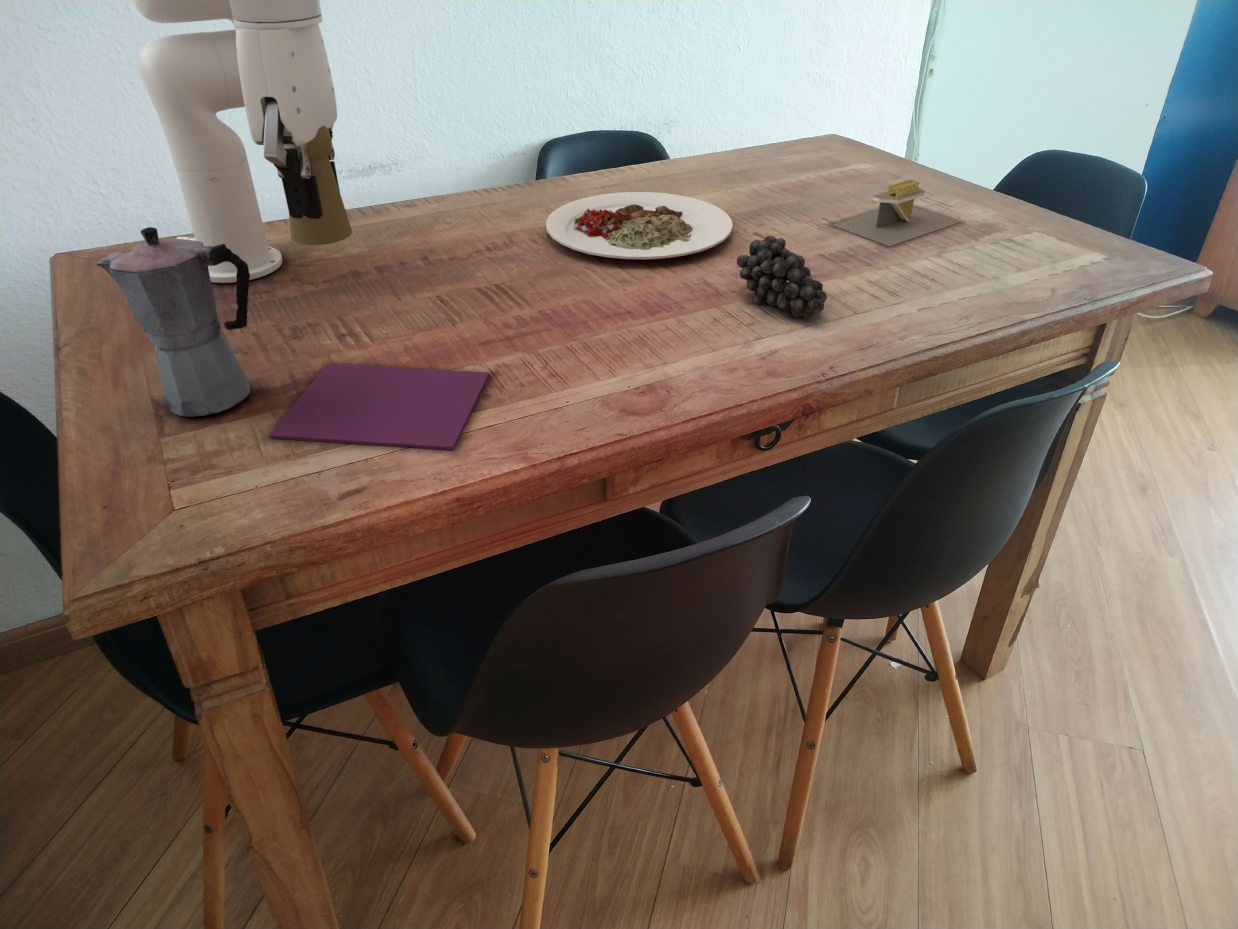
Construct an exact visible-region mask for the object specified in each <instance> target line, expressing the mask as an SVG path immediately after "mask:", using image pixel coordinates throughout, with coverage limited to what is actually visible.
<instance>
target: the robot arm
mask: <svg viewBox="0 0 1238 929" xmlns="http://www.w3.org/2000/svg"><path fill="white" fill-rule="evenodd" d="M132 1H133V3H134V5H135V7H136V9H137V11H138V12H139V13H140V14H141V16H142V17H144V18H145V19H146V20H148V21H150V22H153V23H158V24H179V23H180V24H181V23H193V22H205V21H206V22H207V21H215V20H216V21H217V20H218V21H219V20H229V21H230V22H231V23H232V25H233V27H234V29H226V30H225V29H224V30H216V31H206V32H205V31H200V32H190V33H180V34H179V33H178V34H171V35H166V36H160V37H157V38H154V39H152V40H150V41H149V42H147V43H145V44H144V45H143V46H142V47H141V49H140V51H139V53H138V56H137V58H138V59H137V65H138V70H139V75H140V77H141V79H142V82H143V85H144V87H145V89H146V91H147V94H148V96H149V98H150V101H151V103H152V105H153V107H154V110H155V112H156V114H157V116H158V119H159V122H160V124H161V127H162V130H163V133H164V136H165V139H166V143H167V145H168V149H169V152H170V155H171V159H172V162H173V166H174V169H175V172H176V175H177V179H178V182H179V186H180V190H181V193H182V197H183V200H184V204H185V208H186V211H187V215H188V219H189V222H190V225H191V229H192V232H193V236H194V237H190V236H177V237H176V239H184V240H193V241H201V242H202V243H203V246H213V247H214V246H217V245H221V244H225V245H226V248H228V249H230V250H231V252H233V253H234V254H236V255H238V256H239V257H240V259H241V260H243V261H245V262H246V263H247V265H248V269H249V274H250V278H249V281H251V280H252V281H253V280H255V279H256V280H257V279H259V278H263V277H266V276H268V275H269V274H271V273H274V272H275V271H277V270H278V269H279V268H280V267H281V266H282V264H283V262H284V261H283V256H282V252H280V250H278V249H277V248H275V247H272V246H270V245H269V244H268V239H267V235H266V230H265V227H264V223H263V219H262V214H261V211H260V205H259V202H258V201H259V200H258V197H257V193H256V189H255V185H254V181H253V177H252V174H251V173H252V172H251V168H250V164H249V160H248V155H247V151H246V147H245V145H244V142H243V141H242V139H241V137H240V136H239V135H238V134H237V132H236V131H234V129H232V128H231V127H230V126H228V125H227V124H226V123H224V121H222V120H221V119H220V118H218V117H217V113H219V112H223V111H227V110H232V109H240V108H244V109H245V114H246V119H247V125H248V130H249V134H250V137H251V140H252V142H254V144H256V145H258V146H263V157H264V159H265V160H267V161H268V162H269V163H270V164H272V165H273V166H274V167H275V168H276V170H277V176H278V177H279V178H280V179H281V183H282V186H283V187H282V188H283V191H284V196H285V201H286V205H287V209H288V215H289V214H290V216H291V217H293V218H303V215H304V216H306V217H308V218H312V219H319V218H320V217H322V215H323V212H322V206H321V201H320V196H319V191H318V186H317V181H316V176H311V170H310V161H309V154H308V150H307V143H308V142H310V141H311V140H312V139H314V138H315V136H316V134H317V131H318V129H319V128H320V127H322V126H325V127H326V128H327V129H328V131H329V133H330V136H331V151H330V153H329V155H328V157H329V160H330V163H331V166H332V169H333V173H334V176H335V179H336V182H337V185H338V188H339V191H341V190H340V185H339V179H338V174H337V168H336V162H335V161H334V160H335V157H336V153H335V148H334V144H333V142H332V141H333V138H334V135H333V134H334V131H333V128H334V125H335V123H336V121H337V119H338V105H337V99H336V92H335V88H334V87H335V86H334V81H333V77H332V71H331V67H330V63H329V58H328V54H327V50H326V46H325V42H324V38H323V34H322V31H321V27H320V23H321V24H322V22H323V21H324V19H323V14H322V8H321V2H320V0H132ZM283 136H292V138H293V139H292V142H294V143H286V142H283ZM285 150H297V151H298V159H299V161H298V160H297V158H296V157H295V156H294V155H293V154H288V153H287V151H285ZM208 269H209V274H210V279H211V283H214V284H233V283H236V281H237V277H236V274H237V268H236V267H235V265H234V264H232V263H231V262H222V263H220V264H218V265H215V266H208Z"/></svg>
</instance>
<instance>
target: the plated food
mask: <svg viewBox="0 0 1238 929" xmlns="http://www.w3.org/2000/svg"><path fill="white" fill-rule="evenodd" d="M732 220H733V219H732V218H731V217H730V215H729V214H728V213H727V212H726V211H724V210H723V209H722V208H720V207H719V206H716V205H714V204H712V203H710V202H707V201H705V200H704V201H703V200H701V199H698V198H694V197H689V196H685V195H680V194H673V193H667V192H666V193H665V192H654V191H653V192H652V191H625V192H612V193H602V194H597V195H592V196H591V195H590V196H587V197H583V198H579V199H576V200H572V201H570V202H567V203H565V204H563V205H561V206H559V207H558V208H556V209H554V210H553V211H552V212H551V213H550V214H549V215H548V216H547V218H546V222H545V227H546V228H545V229H546V232H547V233H548V235H549V236H550V237H551V238H552V240H554V241H556V242H557V243H559V244H560V245H561V246H564V247H567V248H569V249H570V250H574V251H577V252H581V253H584V254H586V255H587V254H588V255H592V256H599V257H604V258H610V259H611V258H612V259H622V260H642V261H643V260H645V261H646V260H660V259H668V258H669V259H671V258H676V257H677V258H678V257H683V256H687V255H693V254H696V253H700V252H704V251H706V250H708V249H711V248H714V247H716V246H718V245H719V244H721V243H723V242H724V241H725V240H726V239H727V238H728V237H729V236H730V235H731V233H732V231H733V221H732Z"/></svg>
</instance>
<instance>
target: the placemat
mask: <svg viewBox="0 0 1238 929" xmlns="http://www.w3.org/2000/svg"><path fill="white" fill-rule="evenodd" d="M489 377H490V372H485V371H484V372H483V371H469V370H468V371H466V370H451V369H450V370H449V369H434V368H433V369H430V368H413V367H395V366H379V365H378V366H376V365H361V364H360V365H358V364H341V363H326V364H325V366H324V367H323V368H322V369H321V371H320V372H319V373H318V374H317V376H316V377H315V378H314V379H313V381H311V383H310V384H309V385H308V387H307V388H306V389H305V390H304V391H303V393H302V394H301V396H299V398H298V399H297V400H296V402H294V404H293V405H292V406H291V408H290V409H289V410H288V411H287V412H286V414H285V415H284V416H283V418H282V419H281V420H280V422H278V424H277V425H276V426H275V428H274V429H273V430H272V431H271V433H270V434H269V438H270V439H278V440H294V441H306V442H307V441H309V442H323V443H339V444H355V445H356V444H357V445H369V446H387V447H400V448H401V447H402V448H418V449H433V450H446V451H454V449H455V447H456V445H457V444H458V441H459V439H460V437H461V436H462V433H463V431H464V429H465V426H466V424H467V422H468V421H469V418H470V416H471V414H472V412H473V410H474V408H475V406H476V404H477V402H478V400H479V398H480V396H481V393H482V392H483V390H484V388H485V385H486V384H487V381H488V379H489Z"/></svg>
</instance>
